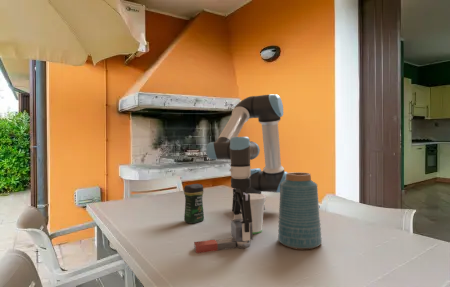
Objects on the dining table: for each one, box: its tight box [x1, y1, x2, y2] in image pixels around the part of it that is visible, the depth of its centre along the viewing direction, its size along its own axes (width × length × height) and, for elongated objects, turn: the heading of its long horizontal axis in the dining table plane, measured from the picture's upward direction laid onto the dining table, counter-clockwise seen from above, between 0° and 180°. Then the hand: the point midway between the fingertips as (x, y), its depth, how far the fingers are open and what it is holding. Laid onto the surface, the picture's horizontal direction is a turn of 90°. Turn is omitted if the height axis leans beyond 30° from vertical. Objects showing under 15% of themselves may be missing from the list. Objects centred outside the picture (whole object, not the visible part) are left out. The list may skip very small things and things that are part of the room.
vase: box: [277, 171, 323, 251], centre depth 105 cm, size 16×16×27 cm
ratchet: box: [193, 237, 251, 254], centre depth 102 cm, size 21×6×7 cm, turn 104°
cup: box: [240, 193, 267, 235], centre depth 120 cm, size 12×12×15 cm
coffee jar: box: [183, 183, 205, 224], centre depth 136 cm, size 10×8×19 cm
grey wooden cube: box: [230, 219, 254, 241], centre depth 103 cm, size 6×6×6 cm
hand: (241, 235), depth 104 cm, fingers open, 10 cm apart
